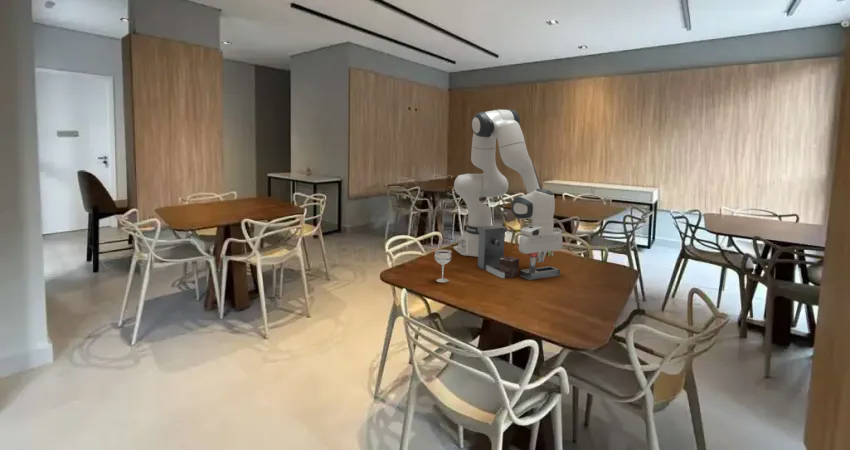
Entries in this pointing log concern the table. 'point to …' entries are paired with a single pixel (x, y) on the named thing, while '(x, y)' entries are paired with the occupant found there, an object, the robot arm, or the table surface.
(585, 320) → the table surface
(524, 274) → the lever rail
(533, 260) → the lever
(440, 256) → the wineglass
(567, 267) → the table surface
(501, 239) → the grey coffee machine
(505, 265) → the box
